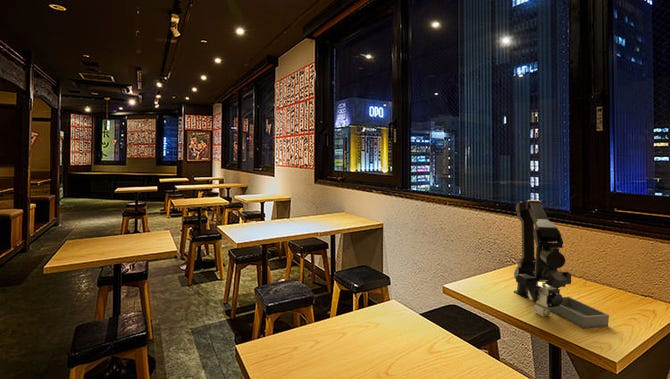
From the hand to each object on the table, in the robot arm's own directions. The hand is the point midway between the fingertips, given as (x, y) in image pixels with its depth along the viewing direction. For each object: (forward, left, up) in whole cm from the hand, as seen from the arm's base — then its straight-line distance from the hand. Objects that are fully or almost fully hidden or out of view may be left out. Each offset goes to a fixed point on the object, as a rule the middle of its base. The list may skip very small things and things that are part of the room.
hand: (542, 301), depth 125 cm
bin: (+3, +11, -5) cm, 12 cm away
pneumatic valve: (0, 0, -5) cm, 5 cm away
